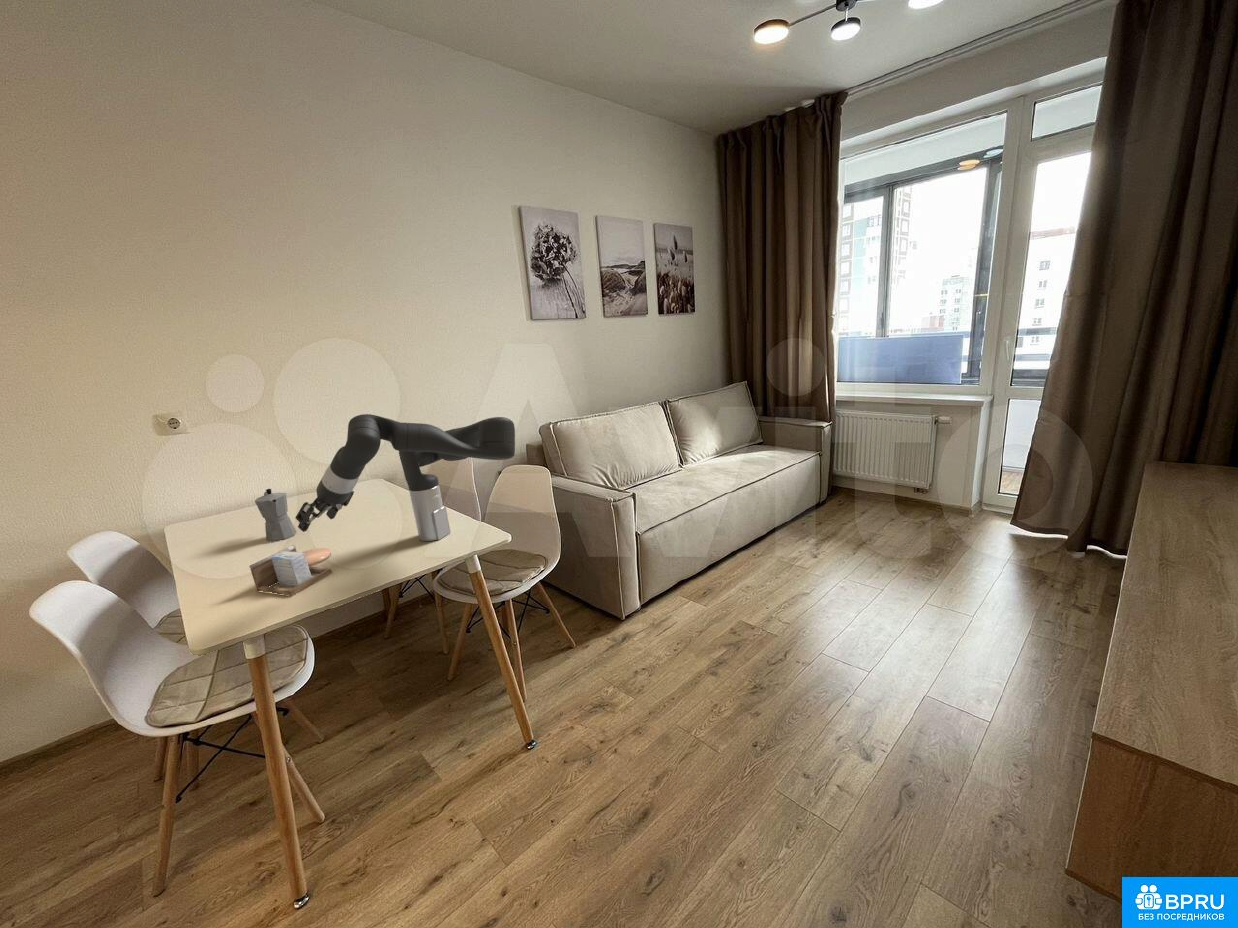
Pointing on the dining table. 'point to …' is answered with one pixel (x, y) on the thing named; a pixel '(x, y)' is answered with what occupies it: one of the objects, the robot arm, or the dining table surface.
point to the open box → (267, 576)
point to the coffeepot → (275, 516)
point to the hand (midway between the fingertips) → (316, 522)
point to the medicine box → (291, 568)
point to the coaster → (316, 555)
